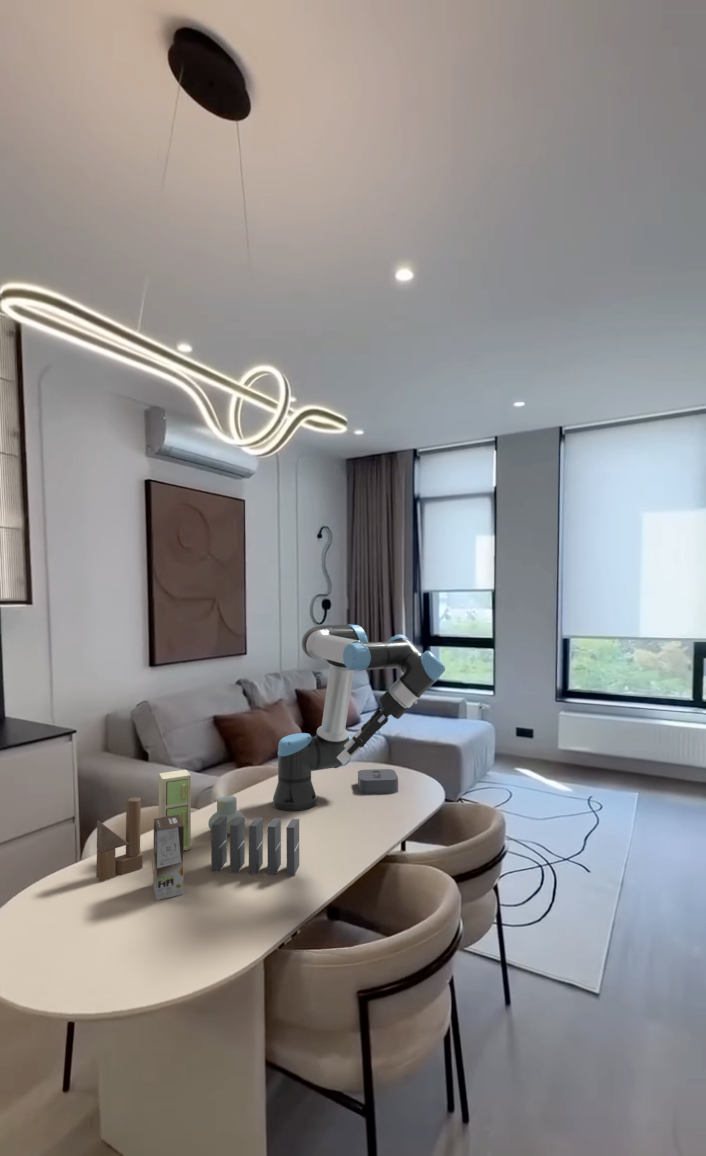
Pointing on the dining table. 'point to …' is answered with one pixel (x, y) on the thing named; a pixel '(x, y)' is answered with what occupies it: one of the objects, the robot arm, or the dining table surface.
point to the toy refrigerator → (176, 799)
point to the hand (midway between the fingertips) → (343, 755)
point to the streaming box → (377, 781)
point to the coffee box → (168, 856)
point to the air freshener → (226, 811)
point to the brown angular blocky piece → (120, 845)
